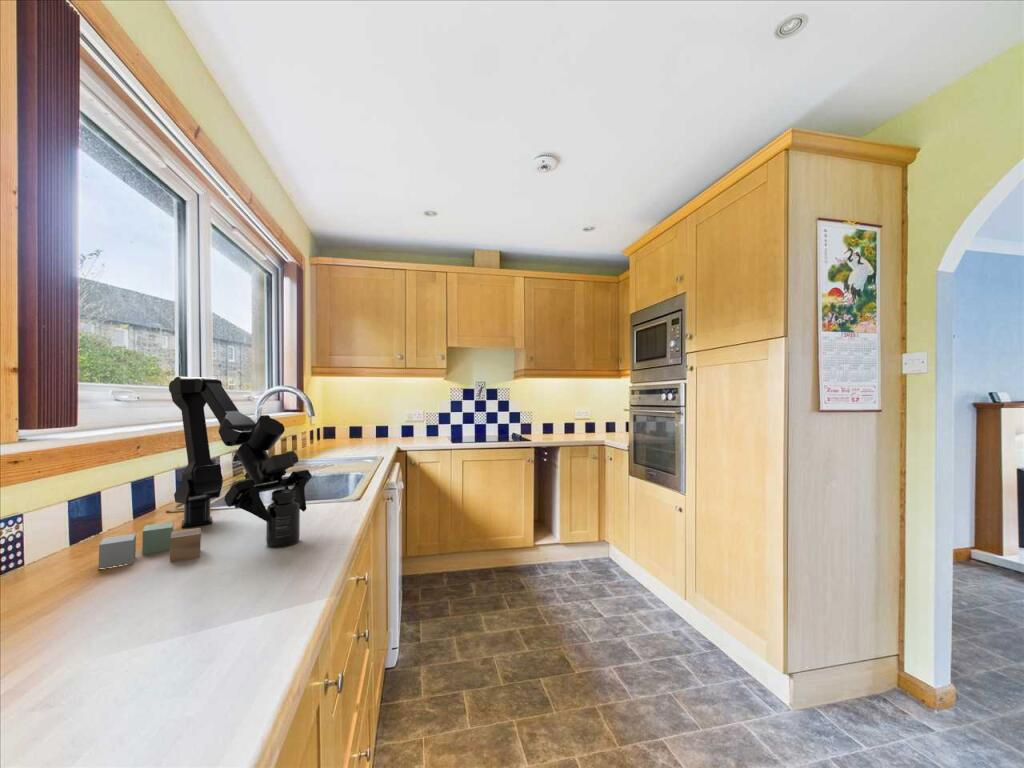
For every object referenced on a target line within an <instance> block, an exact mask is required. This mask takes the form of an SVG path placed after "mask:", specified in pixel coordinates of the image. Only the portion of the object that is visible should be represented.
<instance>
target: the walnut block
mask: <svg viewBox="0 0 1024 768" xmlns="http://www.w3.org/2000/svg"><path fill="white" fill-rule="evenodd" d="M201 533H202V531H201V527H196V528H191V529H190V528H188V529H183V530H182V529H181V530H175V531H174V530H173V532H172V533H171V540H170V550H169V551H170V552H169V555H170V556H169V563H175V562H181V561H186V560H192V559H197V558H199V559H200V558H201V545H202V542H201V540H202V539H201V538H202V537H201V535H202V534H201Z"/></svg>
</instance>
